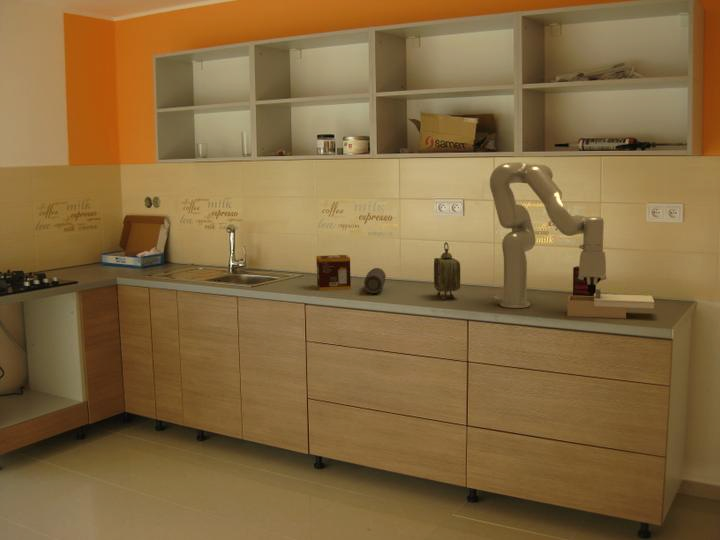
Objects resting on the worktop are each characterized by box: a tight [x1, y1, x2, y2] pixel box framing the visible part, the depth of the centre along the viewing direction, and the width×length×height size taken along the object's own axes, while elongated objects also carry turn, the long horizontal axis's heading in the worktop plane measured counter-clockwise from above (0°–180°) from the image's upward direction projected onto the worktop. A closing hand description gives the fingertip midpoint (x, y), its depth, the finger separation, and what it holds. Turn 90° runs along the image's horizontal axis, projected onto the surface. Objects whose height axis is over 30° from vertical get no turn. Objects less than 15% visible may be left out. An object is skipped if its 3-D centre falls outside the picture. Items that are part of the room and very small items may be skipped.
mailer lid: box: [594, 288, 655, 309], centre depth 313 cm, size 22×13×5 cm, turn 74°
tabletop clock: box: [433, 241, 461, 301], centre depth 354 cm, size 14×9×25 cm, turn 7°
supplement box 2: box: [572, 265, 596, 296], centre depth 336 cm, size 9×5×16 cm, turn 56°
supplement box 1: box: [315, 254, 352, 292], centre depth 384 cm, size 10×15×16 cm
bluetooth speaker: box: [363, 267, 387, 294], centre depth 375 cm, size 23×9×10 cm, turn 174°
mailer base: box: [566, 295, 627, 319], centre depth 316 cm, size 22×11×6 cm, turn 74°
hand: (591, 293), depth 316 cm, fingers closed
